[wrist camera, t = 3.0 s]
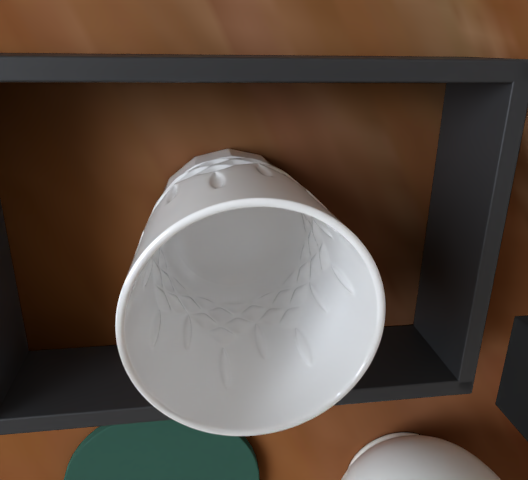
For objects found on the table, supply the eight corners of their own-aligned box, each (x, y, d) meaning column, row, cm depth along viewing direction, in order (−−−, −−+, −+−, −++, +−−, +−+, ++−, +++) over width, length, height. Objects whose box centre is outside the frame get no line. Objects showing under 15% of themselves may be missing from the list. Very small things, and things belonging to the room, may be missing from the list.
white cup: (184, 105, 21) (181, 149, 12) (339, 177, 24) (435, 261, 14) (119, 260, 24) (75, 397, 14) (266, 313, 26) (310, 462, 17)
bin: (466, 56, 22) (537, 59, 18) (424, 336, 28) (472, 393, 23) (-49, 52, 20) (-122, 54, 15) (15, 365, 25) (-25, 437, 20)
